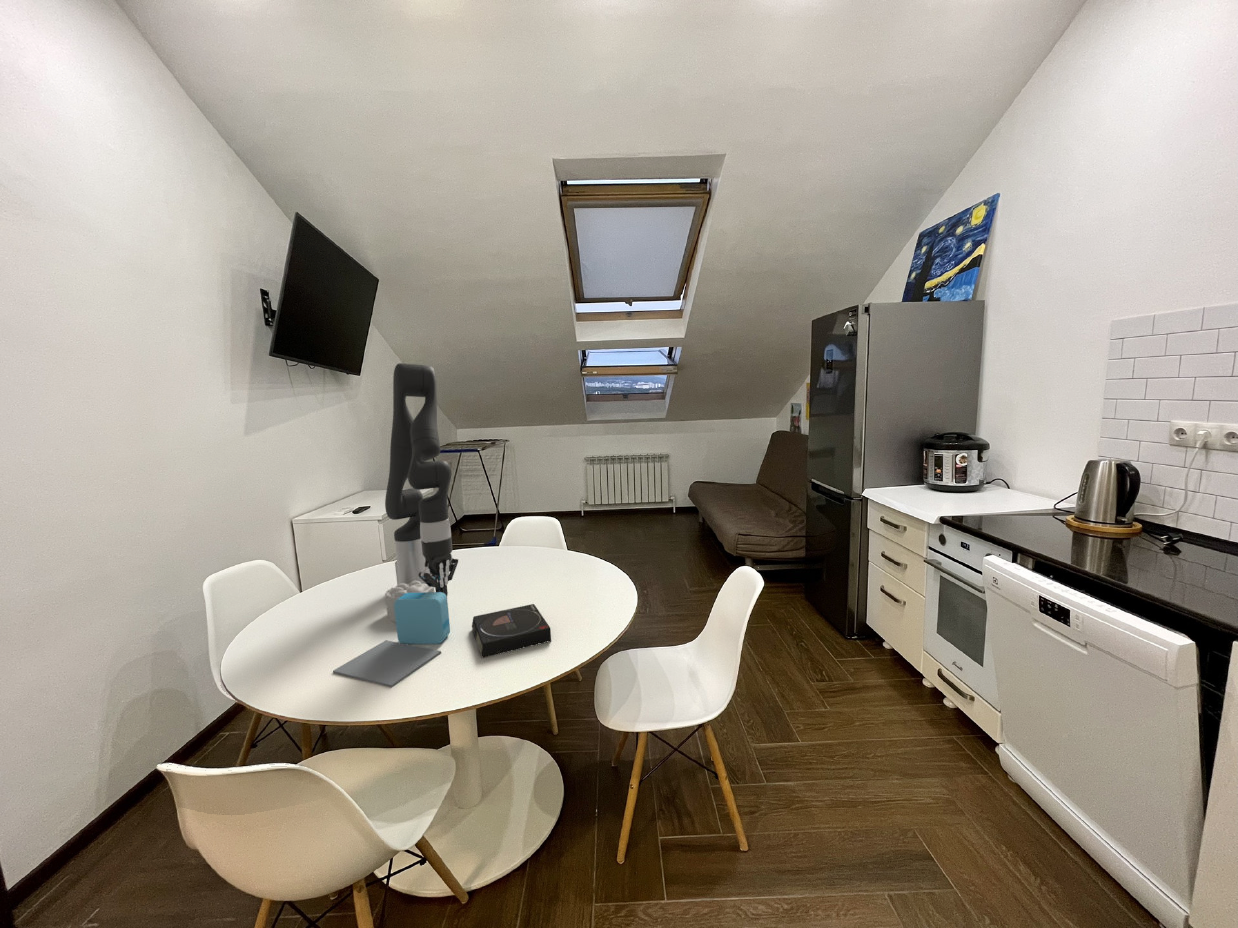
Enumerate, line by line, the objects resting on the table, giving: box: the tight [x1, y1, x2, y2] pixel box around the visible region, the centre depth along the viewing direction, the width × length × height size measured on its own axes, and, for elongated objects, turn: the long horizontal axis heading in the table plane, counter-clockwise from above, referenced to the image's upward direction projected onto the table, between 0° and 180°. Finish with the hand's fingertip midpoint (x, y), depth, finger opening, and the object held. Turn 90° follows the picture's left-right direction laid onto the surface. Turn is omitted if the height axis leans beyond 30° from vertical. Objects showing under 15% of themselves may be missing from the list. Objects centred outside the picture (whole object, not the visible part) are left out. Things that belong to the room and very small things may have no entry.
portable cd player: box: [471, 603, 552, 658], centre depth 127 cm, size 16×17×4 cm
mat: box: [332, 639, 442, 688], centre depth 116 cm, size 18×15×1 cm
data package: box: [394, 591, 451, 645], centre depth 126 cm, size 12×4×12 cm, turn 86°
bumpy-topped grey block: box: [384, 581, 435, 623], centre depth 142 cm, size 10×13×9 cm
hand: (442, 599), depth 132 cm, fingers closed
